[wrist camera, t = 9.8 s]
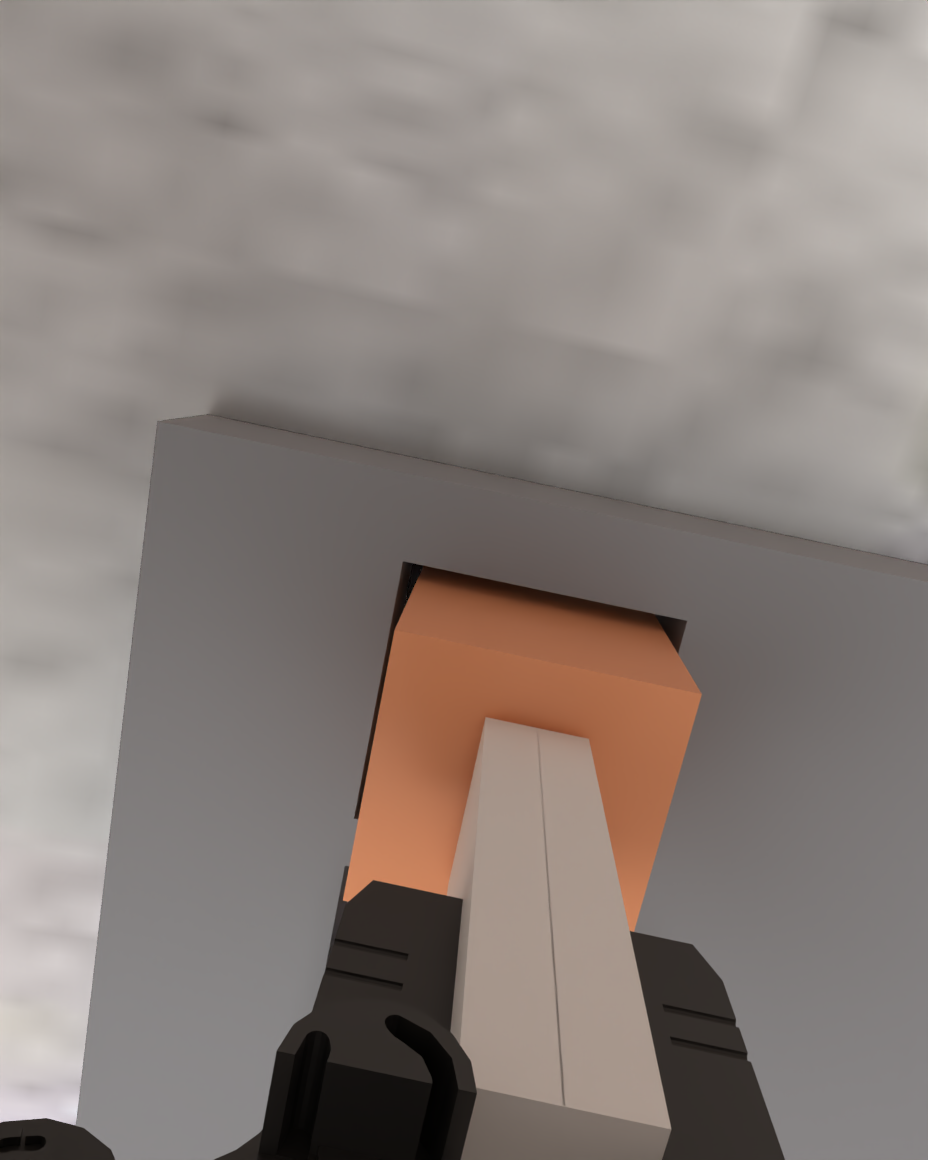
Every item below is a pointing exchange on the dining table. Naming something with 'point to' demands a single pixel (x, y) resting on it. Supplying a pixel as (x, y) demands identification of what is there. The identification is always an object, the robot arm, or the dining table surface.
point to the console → (343, 748)
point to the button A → (518, 720)
